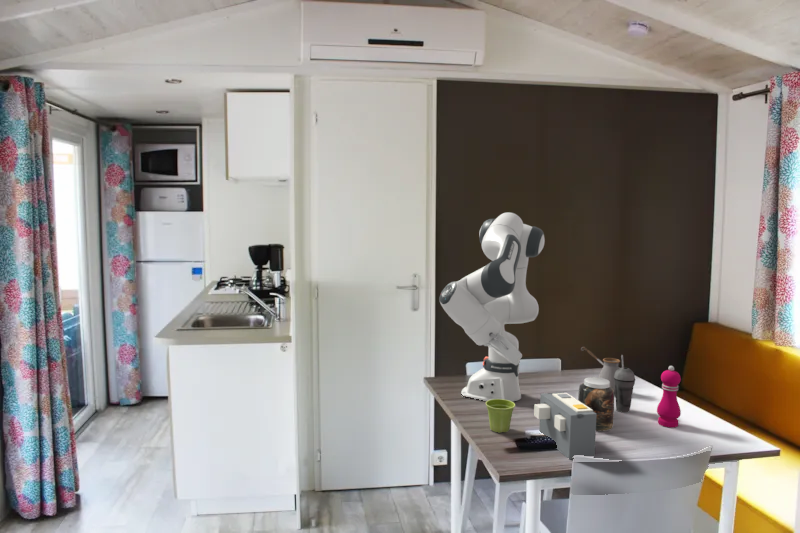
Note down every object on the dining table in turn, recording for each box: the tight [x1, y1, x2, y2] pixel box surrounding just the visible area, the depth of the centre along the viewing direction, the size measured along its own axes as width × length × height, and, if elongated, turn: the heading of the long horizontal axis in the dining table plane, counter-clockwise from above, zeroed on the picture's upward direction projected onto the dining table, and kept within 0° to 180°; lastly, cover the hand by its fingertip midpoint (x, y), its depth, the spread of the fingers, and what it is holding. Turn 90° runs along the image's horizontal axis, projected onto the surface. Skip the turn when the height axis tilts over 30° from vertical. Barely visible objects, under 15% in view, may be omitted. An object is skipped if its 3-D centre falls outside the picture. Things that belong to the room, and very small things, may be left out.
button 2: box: [554, 415, 566, 431], centre depth 176 cm, size 5×4×4 cm
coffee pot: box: [580, 346, 621, 392], centre depth 238 cm, size 21×12×15 cm, turn 28°
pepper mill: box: [656, 365, 682, 429], centre depth 199 cm, size 7×7×20 cm
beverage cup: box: [614, 354, 636, 414], centre depth 212 cm, size 7×7×20 cm
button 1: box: [533, 403, 551, 421], centre depth 185 cm, size 5×4×4 cm
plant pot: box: [485, 399, 516, 434], centre depth 194 cm, size 9×9×9 cm
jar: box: [577, 376, 616, 432], centre depth 199 cm, size 12×12×15 cm
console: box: [538, 391, 597, 460], centre depth 182 cm, size 8×20×14 cm, turn 12°
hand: (516, 362), depth 171 cm, fingers closed
